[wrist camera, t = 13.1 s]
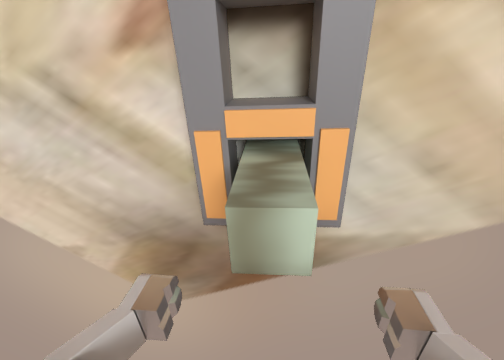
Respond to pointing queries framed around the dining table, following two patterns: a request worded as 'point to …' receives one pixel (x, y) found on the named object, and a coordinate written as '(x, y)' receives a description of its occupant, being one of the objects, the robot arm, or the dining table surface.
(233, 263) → the peg
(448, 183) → the dining table surface
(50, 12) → the dining table surface
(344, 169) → the board
